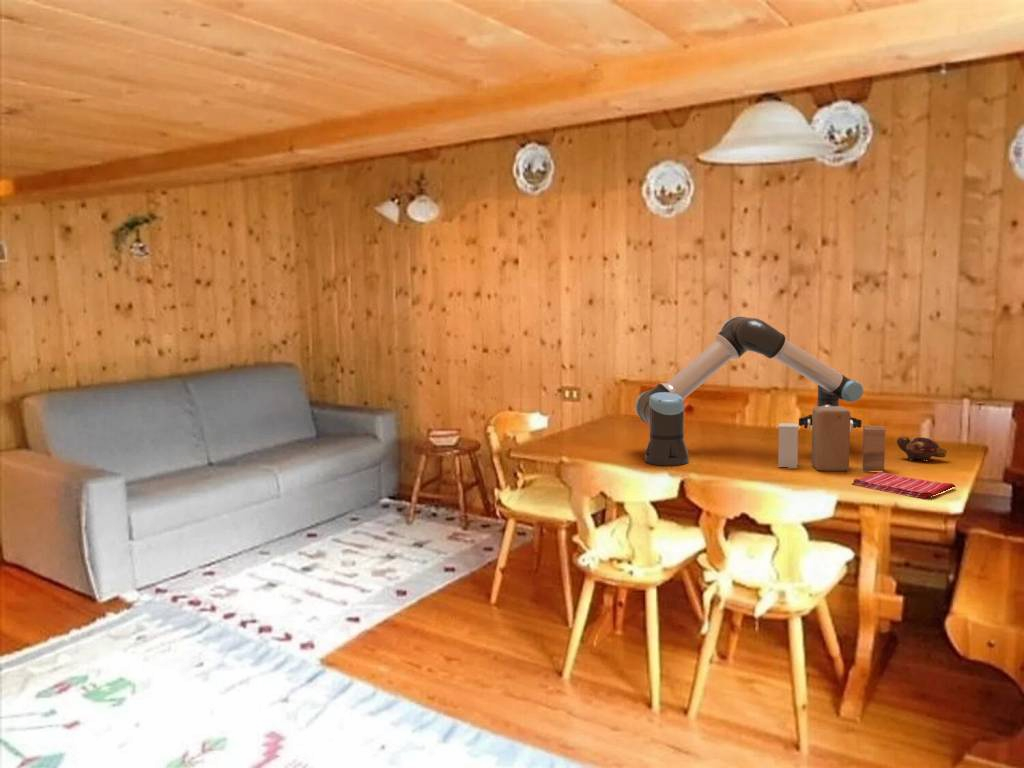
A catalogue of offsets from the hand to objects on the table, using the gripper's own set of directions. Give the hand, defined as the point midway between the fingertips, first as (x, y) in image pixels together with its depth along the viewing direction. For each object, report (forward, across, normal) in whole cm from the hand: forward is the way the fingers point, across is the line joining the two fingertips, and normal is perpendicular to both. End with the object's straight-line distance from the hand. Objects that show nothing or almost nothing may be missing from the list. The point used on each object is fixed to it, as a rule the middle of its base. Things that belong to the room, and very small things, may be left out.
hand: (830, 426), depth 275 cm
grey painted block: (+10, +13, -12) cm, 20 cm away
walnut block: (+10, -13, -12) cm, 20 cm away
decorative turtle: (-9, -29, -12) cm, 33 cm away
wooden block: (+10, 0, -12) cm, 16 cm away
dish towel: (+30, -20, -13) cm, 38 cm away
